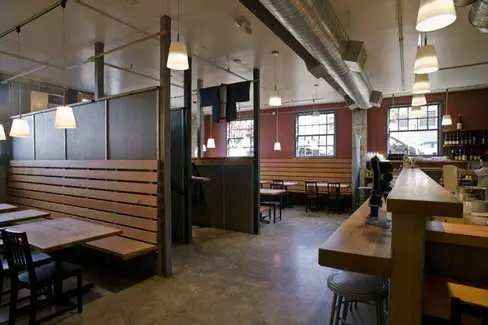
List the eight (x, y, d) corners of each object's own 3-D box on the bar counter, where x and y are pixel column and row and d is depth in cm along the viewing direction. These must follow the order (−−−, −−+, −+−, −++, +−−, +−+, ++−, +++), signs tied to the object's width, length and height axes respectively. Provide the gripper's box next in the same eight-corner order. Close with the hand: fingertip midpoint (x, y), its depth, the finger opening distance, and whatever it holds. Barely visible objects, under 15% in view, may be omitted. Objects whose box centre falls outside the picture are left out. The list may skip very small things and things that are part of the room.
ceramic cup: (380, 221, 201) (380, 209, 201) (388, 223, 197) (388, 210, 197) (376, 222, 198) (377, 210, 197) (384, 224, 194) (384, 211, 194)
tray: (376, 220, 208) (376, 217, 208) (399, 224, 197) (400, 221, 197) (365, 223, 198) (365, 220, 198) (388, 228, 187) (388, 225, 187)
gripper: (389, 182, 184) (388, 209, 185) (403, 180, 196) (402, 205, 197) (371, 181, 192) (370, 206, 193) (386, 179, 204) (385, 203, 205)
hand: (383, 205), depth 197 cm, fingers open, 9 cm apart
